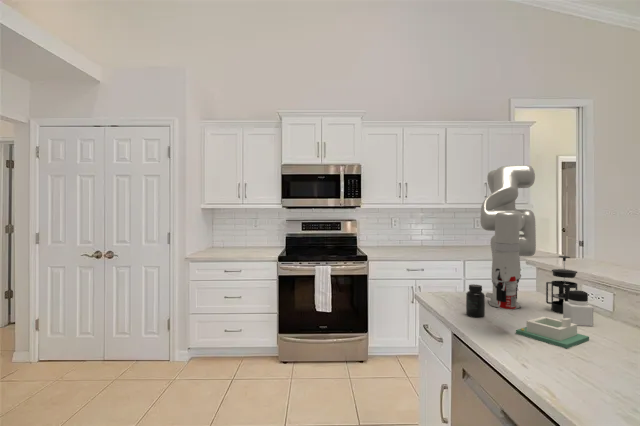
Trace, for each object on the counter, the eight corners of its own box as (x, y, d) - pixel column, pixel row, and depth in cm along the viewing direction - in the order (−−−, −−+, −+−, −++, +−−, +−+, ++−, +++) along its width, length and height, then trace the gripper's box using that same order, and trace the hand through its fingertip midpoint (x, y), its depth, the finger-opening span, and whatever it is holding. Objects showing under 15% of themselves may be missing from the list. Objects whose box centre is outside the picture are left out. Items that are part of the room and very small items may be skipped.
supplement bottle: (472, 312, 152) (472, 283, 151) (488, 316, 146) (488, 285, 146) (462, 314, 148) (462, 285, 148) (478, 318, 142) (478, 288, 142)
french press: (575, 309, 155) (575, 255, 154) (583, 315, 146) (583, 258, 146) (543, 307, 159) (543, 254, 158) (549, 313, 150) (549, 256, 150)
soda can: (500, 304, 131) (500, 271, 130) (517, 307, 127) (517, 273, 127) (496, 308, 126) (496, 274, 126) (513, 311, 123) (513, 276, 122)
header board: (515, 333, 125) (515, 312, 125) (538, 326, 132) (538, 307, 132) (566, 348, 111) (566, 325, 111) (589, 340, 118) (589, 318, 118)
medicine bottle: (593, 326, 132) (593, 293, 132) (571, 325, 134) (571, 292, 134) (583, 320, 139) (583, 289, 139) (562, 319, 141) (562, 288, 141)
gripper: (511, 244, 133) (511, 293, 134) (481, 248, 125) (481, 301, 126) (532, 246, 127) (531, 298, 128) (501, 251, 118) (501, 306, 119)
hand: (506, 299), depth 127 cm, fingers closed on soda can, 5 cm apart
